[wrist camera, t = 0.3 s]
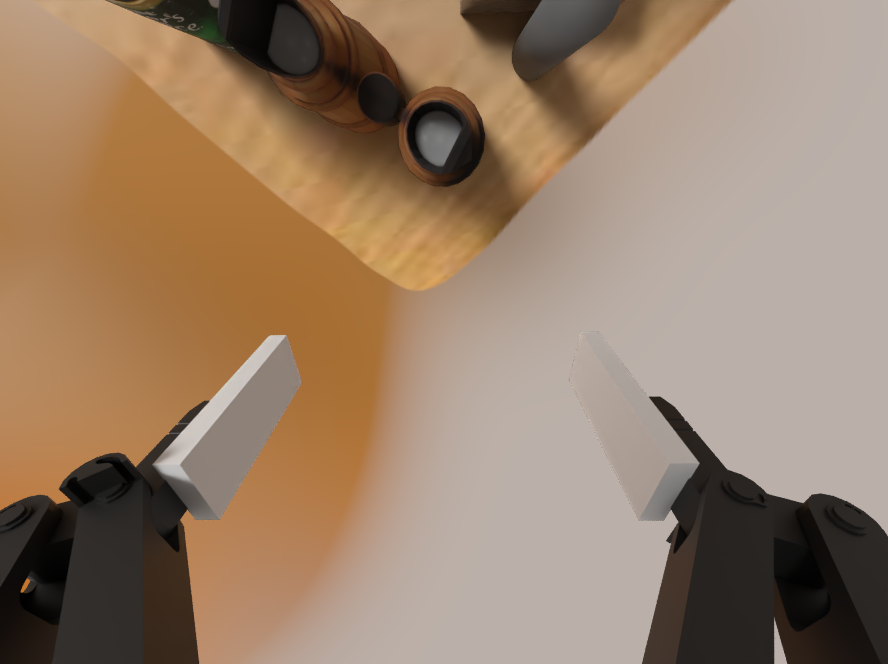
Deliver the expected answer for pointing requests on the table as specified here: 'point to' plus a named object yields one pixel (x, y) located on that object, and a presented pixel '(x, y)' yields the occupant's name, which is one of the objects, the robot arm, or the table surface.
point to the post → (559, 33)
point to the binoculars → (354, 82)
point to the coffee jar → (182, 16)
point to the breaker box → (499, 6)
